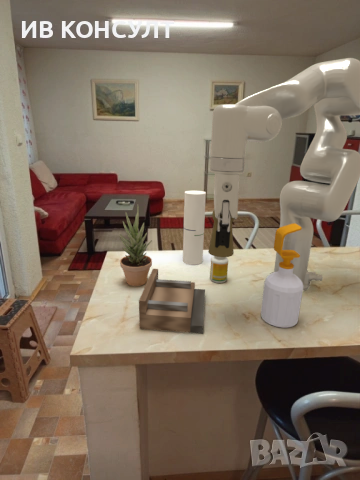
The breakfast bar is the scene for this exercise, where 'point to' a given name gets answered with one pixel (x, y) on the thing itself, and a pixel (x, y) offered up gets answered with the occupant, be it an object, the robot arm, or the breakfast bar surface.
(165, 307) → the loading dock
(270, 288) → the soap bottle
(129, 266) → the potted plant
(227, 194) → the robot arm
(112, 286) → the breakfast bar surface
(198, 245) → the cylindrical container
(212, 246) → the olive rounded upright piece
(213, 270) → the supplement bottle
